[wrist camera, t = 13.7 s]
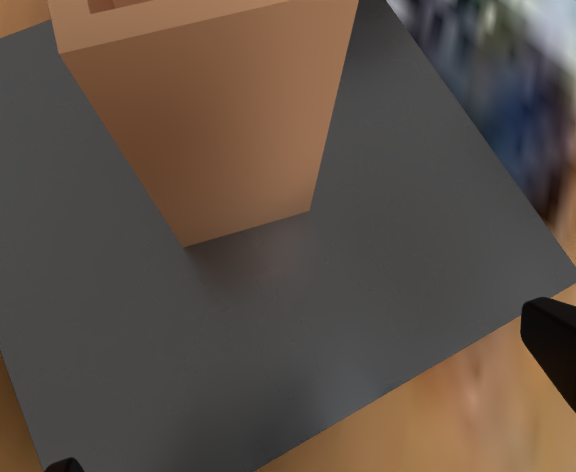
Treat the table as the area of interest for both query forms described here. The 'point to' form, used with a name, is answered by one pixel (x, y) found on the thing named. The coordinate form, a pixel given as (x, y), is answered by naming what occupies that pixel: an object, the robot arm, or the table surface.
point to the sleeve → (212, 99)
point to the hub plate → (249, 270)
